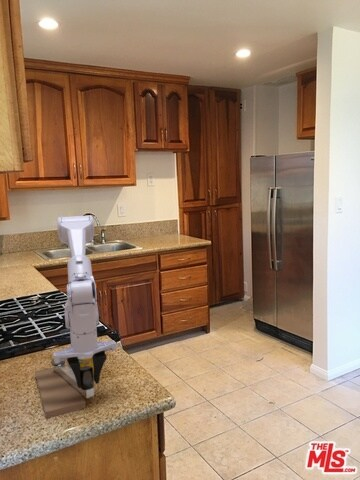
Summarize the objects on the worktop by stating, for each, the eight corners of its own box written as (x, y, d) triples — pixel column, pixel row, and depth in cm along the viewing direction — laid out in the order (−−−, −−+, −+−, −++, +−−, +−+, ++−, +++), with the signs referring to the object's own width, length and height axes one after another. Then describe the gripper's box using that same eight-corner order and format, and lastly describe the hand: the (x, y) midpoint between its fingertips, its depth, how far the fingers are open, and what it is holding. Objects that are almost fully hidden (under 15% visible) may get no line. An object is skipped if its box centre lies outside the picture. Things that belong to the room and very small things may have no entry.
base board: (35, 376, 108) (35, 371, 108) (68, 369, 112) (68, 364, 112) (45, 418, 89) (45, 412, 88) (85, 407, 92) (85, 401, 92)
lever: (50, 369, 108) (48, 347, 107) (62, 365, 110) (61, 343, 109) (83, 399, 93) (82, 373, 92) (97, 394, 95) (95, 368, 94)
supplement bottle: (100, 373, 109) (98, 340, 108) (92, 383, 104) (90, 348, 102) (81, 372, 110) (79, 339, 109) (73, 381, 105) (71, 348, 103)
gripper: (55, 342, 86) (59, 399, 88) (118, 329, 92) (121, 383, 94) (50, 331, 92) (54, 385, 94) (110, 320, 99) (113, 371, 100)
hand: (87, 383), depth 95 cm, fingers open, 3 cm apart
